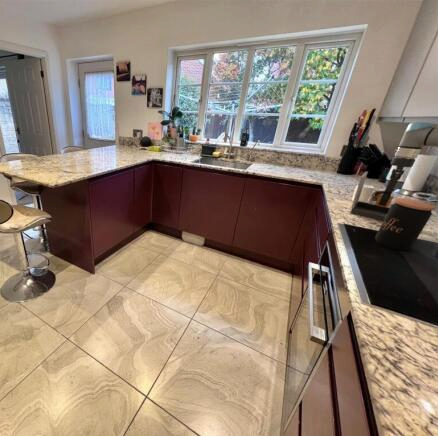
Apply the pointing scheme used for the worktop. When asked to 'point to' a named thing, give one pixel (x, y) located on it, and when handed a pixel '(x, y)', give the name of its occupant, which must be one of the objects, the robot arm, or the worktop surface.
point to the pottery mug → (374, 198)
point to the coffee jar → (403, 223)
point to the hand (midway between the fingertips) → (382, 203)
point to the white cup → (363, 193)
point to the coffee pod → (380, 199)
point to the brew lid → (359, 189)
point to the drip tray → (370, 211)
